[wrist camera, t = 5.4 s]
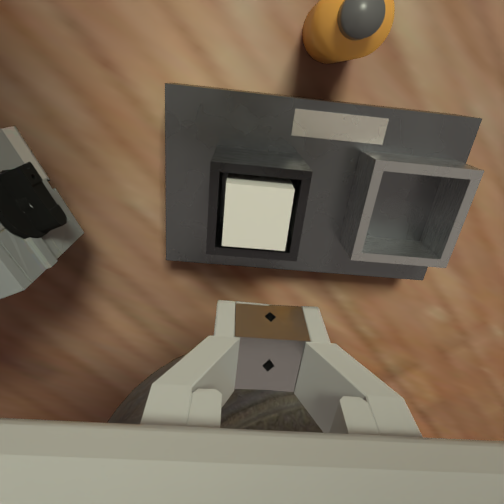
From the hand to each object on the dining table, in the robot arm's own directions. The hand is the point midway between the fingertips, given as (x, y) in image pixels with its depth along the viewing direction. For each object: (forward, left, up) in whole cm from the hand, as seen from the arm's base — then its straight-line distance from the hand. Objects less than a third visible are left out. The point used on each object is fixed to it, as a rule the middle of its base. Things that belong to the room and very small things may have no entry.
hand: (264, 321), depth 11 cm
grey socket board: (0, +4, -18) cm, 18 cm away
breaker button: (0, 0, -14) cm, 14 cm away
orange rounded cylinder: (-10, +4, -18) cm, 21 cm away
